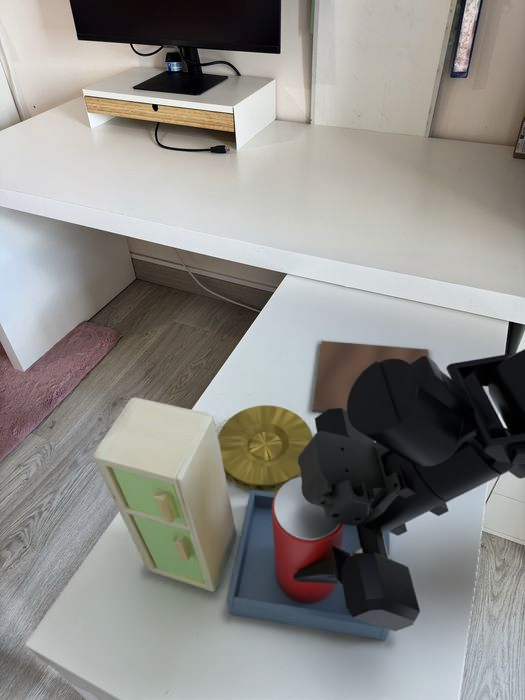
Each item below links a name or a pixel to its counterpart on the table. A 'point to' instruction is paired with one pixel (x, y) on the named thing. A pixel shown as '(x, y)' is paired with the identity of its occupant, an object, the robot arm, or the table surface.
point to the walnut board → (350, 369)
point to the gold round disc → (263, 447)
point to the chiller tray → (262, 587)
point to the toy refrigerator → (170, 489)
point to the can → (301, 541)
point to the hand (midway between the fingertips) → (292, 542)
